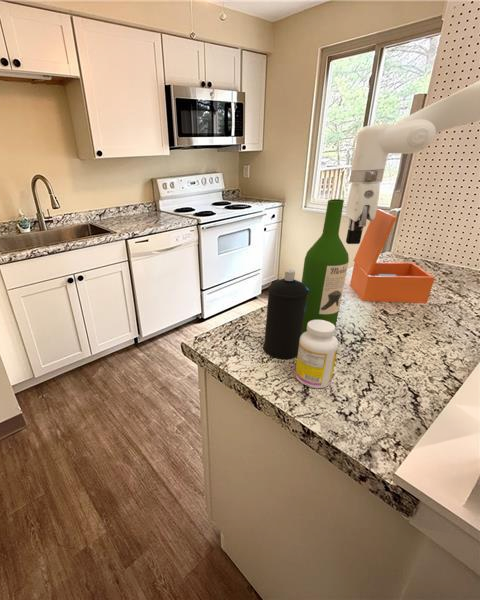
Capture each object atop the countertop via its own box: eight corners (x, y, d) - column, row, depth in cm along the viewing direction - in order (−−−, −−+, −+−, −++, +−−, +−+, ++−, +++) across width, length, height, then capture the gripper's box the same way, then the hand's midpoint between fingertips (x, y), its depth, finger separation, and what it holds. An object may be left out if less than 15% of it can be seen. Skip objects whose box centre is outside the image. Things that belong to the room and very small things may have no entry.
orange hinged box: (406, 285, 98) (413, 262, 94) (426, 303, 87) (435, 277, 84) (349, 284, 102) (354, 262, 99) (362, 301, 91) (368, 276, 88)
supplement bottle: (316, 366, 67) (325, 314, 62) (338, 386, 61) (351, 330, 56) (288, 372, 67) (294, 320, 61) (307, 392, 61) (317, 337, 55)
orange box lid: (378, 208, 91) (375, 208, 91) (396, 217, 80) (393, 216, 80) (356, 261, 99) (353, 260, 99) (370, 275, 88) (367, 274, 88)
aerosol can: (281, 363, 69) (291, 281, 61) (255, 346, 76) (260, 269, 68) (308, 352, 72) (321, 272, 63) (280, 336, 79) (289, 262, 70)
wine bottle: (314, 343, 75) (337, 205, 61) (287, 326, 83) (303, 201, 69) (343, 334, 77) (371, 199, 63) (314, 318, 85) (334, 195, 71)
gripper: (394, 178, 76) (376, 250, 84) (372, 173, 89) (359, 236, 96) (358, 180, 78) (345, 250, 86) (342, 175, 91) (331, 237, 99)
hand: (352, 243), depth 91 cm, fingers closed
